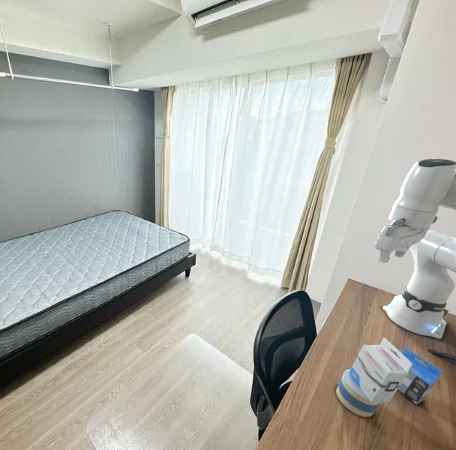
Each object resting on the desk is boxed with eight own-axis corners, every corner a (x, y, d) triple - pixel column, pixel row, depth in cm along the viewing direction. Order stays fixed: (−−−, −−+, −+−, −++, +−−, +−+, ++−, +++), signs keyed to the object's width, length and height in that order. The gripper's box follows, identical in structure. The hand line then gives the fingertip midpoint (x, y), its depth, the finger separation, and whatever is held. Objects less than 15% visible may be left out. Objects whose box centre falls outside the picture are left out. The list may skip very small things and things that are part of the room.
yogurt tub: (346, 380, 77) (354, 364, 74) (381, 409, 69) (391, 393, 67) (328, 392, 73) (336, 376, 71) (363, 423, 66) (373, 407, 63)
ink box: (347, 373, 72) (366, 335, 66) (363, 373, 72) (383, 336, 66) (371, 403, 64) (394, 364, 58) (389, 404, 64) (414, 364, 58)
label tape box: (381, 377, 78) (397, 349, 74) (389, 373, 80) (405, 346, 75) (415, 405, 71) (436, 376, 66) (423, 400, 72) (444, 371, 67)
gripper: (407, 225, 63) (385, 270, 68) (440, 216, 71) (419, 257, 77) (378, 217, 68) (360, 260, 74) (412, 210, 77) (394, 249, 82)
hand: (391, 258), depth 75 cm, fingers open, 8 cm apart
